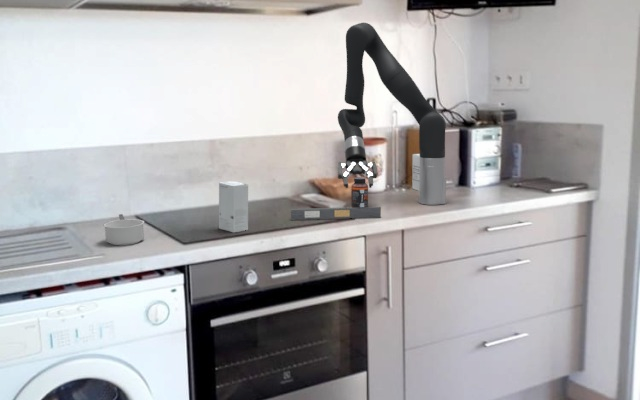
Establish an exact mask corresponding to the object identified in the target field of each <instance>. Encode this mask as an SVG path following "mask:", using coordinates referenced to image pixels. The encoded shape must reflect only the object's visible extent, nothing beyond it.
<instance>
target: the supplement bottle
mask: <svg viewBox="0 0 640 400" xmlns="http://www.w3.org/2000/svg"><path fill="white" fill-rule="evenodd" d="M353 179H354V180H353V183H352V184H351V203H350V204H351V207H369V184H367V183H366V177H354V178H353Z"/></svg>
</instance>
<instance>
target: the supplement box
mask: <svg viewBox="0 0 640 400" xmlns="http://www.w3.org/2000/svg"><path fill="white" fill-rule="evenodd" d="M411 158H412V160H411V161H412V164H411V166H412V168H411V169H412V178H411V180H412V181H411V182H412V183H411V184H412V190H415V191H418V192H419V171H420V153H412V157H411Z"/></svg>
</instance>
